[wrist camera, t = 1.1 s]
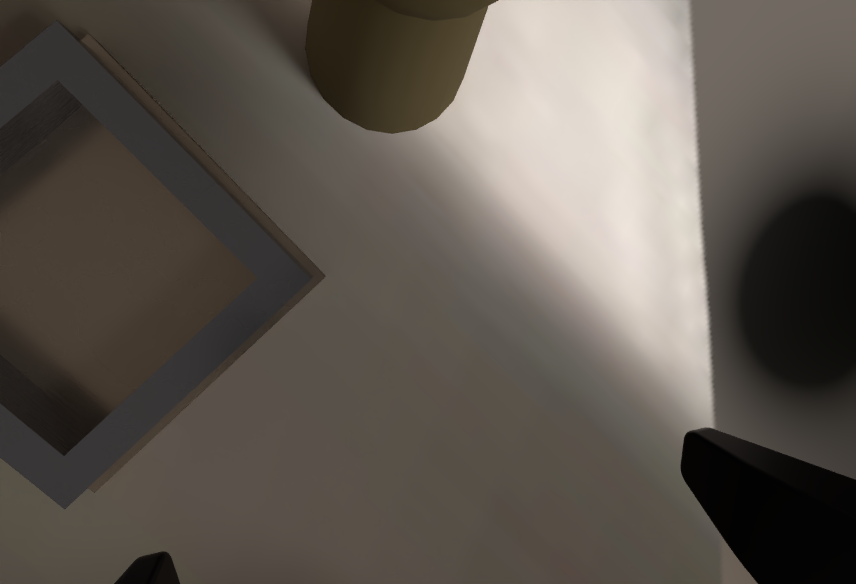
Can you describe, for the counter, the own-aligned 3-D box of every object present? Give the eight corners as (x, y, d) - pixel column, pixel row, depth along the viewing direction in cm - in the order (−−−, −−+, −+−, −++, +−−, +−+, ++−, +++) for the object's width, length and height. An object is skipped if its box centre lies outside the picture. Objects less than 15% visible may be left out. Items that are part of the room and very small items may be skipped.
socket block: (325, 275, 19) (324, 279, 17) (101, 485, 18) (65, 522, 16) (96, 41, 17) (56, 4, 15) (-167, 263, 17) (-258, 265, 14)
